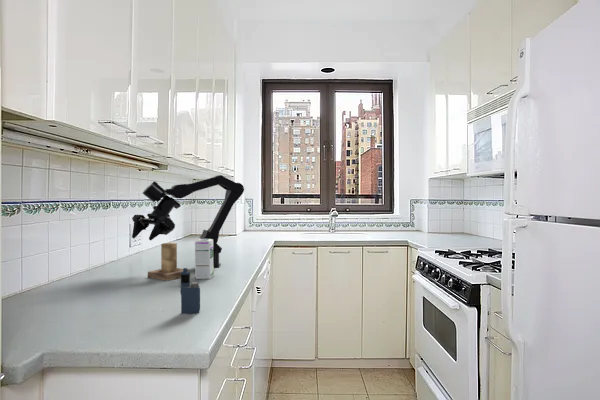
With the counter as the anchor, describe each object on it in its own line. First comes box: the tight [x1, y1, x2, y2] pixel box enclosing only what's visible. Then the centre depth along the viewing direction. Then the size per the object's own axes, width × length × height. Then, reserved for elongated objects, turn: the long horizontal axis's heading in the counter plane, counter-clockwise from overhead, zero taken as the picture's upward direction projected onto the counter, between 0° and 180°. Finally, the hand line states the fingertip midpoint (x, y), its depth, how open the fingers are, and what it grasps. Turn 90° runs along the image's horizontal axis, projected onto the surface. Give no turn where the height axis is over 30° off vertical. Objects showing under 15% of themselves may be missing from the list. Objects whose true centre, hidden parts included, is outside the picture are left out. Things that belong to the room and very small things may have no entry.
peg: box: [160, 242, 178, 273], centre depth 154 cm, size 4×4×12 cm
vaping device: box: [179, 267, 201, 315], centre depth 108 cm, size 3×5×12 cm, turn 88°
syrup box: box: [194, 238, 215, 280], centre depth 152 cm, size 6×6×14 cm
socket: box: [147, 267, 191, 281], centre depth 154 cm, size 11×11×2 cm
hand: (141, 238), depth 154 cm, fingers open, 9 cm apart
